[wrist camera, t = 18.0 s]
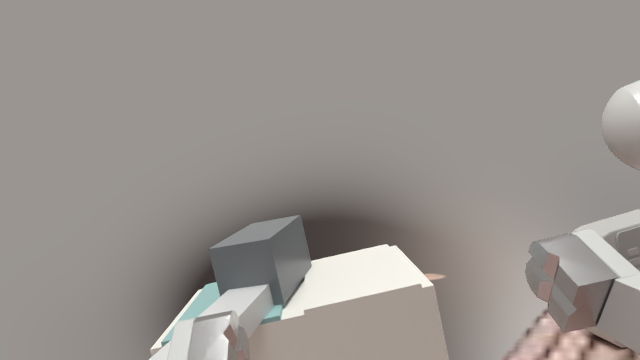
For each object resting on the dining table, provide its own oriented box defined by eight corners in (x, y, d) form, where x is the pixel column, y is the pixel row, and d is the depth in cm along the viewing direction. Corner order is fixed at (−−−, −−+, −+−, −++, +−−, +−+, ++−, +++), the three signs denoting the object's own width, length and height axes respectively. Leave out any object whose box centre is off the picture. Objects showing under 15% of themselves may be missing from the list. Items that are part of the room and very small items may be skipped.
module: (223, 388, 23) (199, 292, 22) (139, 394, 24) (115, 303, 24) (311, 266, 44) (300, 214, 43) (263, 273, 45) (251, 223, 45)
